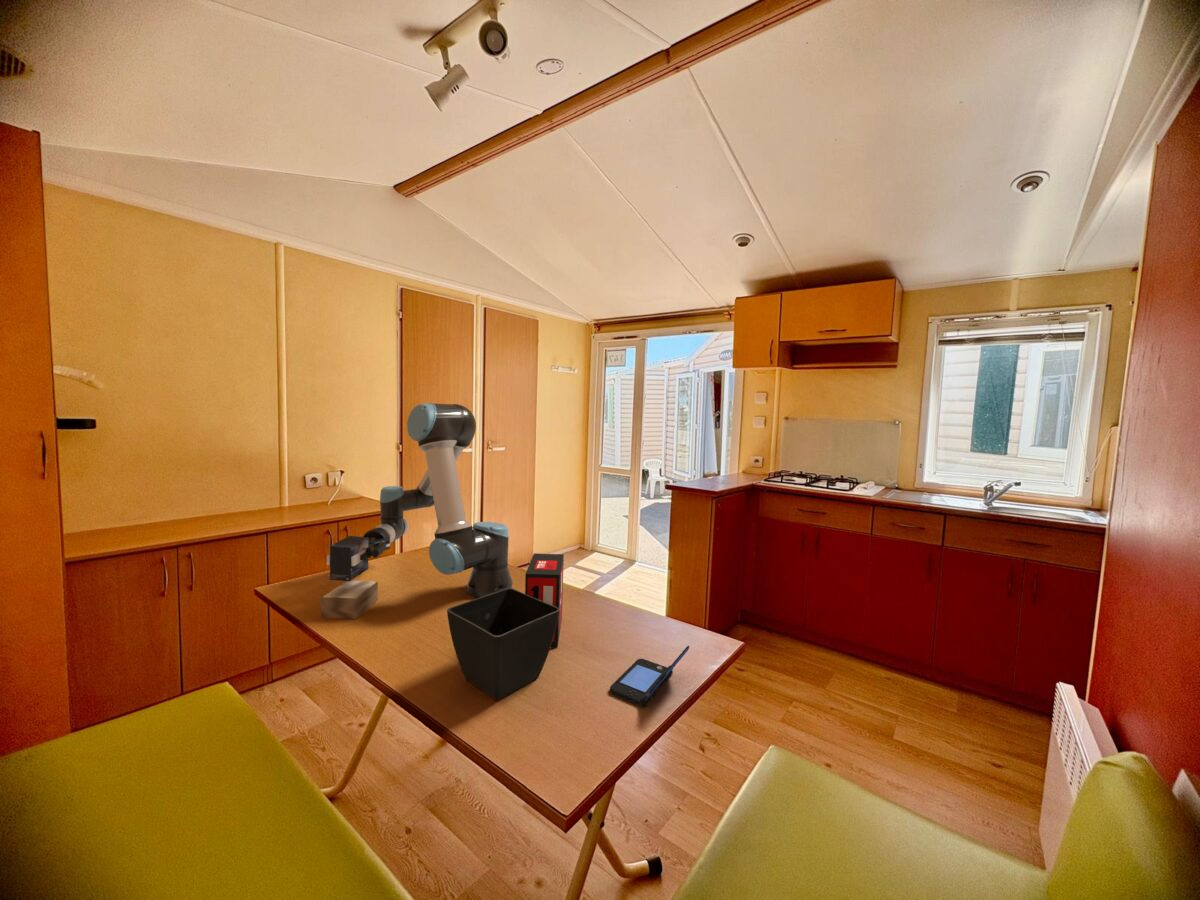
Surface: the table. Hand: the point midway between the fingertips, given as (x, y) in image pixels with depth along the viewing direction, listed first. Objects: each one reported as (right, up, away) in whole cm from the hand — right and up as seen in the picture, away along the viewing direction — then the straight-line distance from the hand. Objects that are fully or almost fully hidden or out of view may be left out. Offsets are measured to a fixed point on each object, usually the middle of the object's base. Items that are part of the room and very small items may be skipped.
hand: (340, 561), depth 132 cm
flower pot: (+52, -21, -25) cm, 62 cm away
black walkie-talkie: (+87, -23, -26) cm, 94 cm away
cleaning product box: (+59, -19, -3) cm, 63 cm away
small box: (0, -6, +6) cm, 8 cm away
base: (0, -16, +7) cm, 17 cm away
